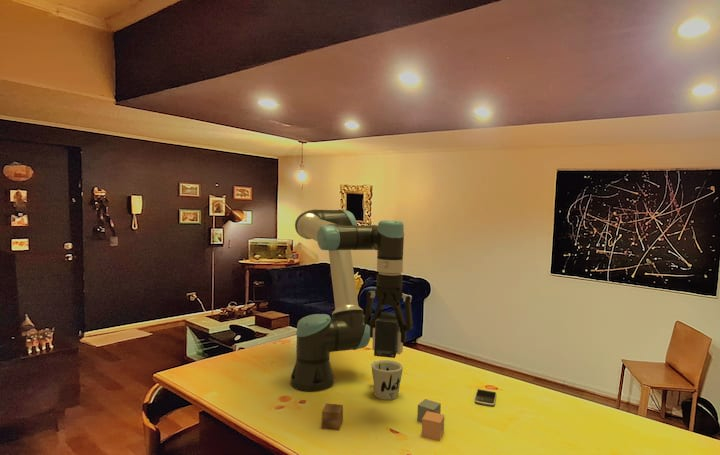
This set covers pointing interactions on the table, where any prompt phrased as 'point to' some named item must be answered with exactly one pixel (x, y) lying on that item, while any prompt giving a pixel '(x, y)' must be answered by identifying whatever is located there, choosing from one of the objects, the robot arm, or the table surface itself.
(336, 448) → the table surface
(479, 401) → the cell phone
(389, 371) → the mug
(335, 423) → the walnut cube
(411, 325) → the robot arm
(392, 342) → the small box
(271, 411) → the table surface
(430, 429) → the terracotta cube
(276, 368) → the table surface
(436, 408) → the slate cube
